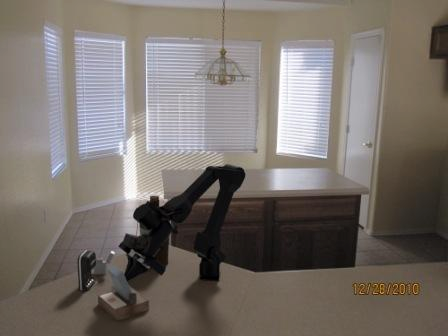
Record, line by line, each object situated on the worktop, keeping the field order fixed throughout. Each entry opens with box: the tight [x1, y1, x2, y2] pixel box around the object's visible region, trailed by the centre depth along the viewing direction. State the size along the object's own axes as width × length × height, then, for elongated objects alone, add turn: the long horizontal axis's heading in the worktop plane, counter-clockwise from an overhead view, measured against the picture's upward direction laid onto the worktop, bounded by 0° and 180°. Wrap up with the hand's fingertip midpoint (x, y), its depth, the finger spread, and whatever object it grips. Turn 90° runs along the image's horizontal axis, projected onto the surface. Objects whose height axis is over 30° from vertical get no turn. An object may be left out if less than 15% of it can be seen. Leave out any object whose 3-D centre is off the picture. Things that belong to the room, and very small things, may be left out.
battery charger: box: [76, 249, 97, 291], centre depth 144 cm, size 7×4×11 cm, turn 174°
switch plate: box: [100, 292, 126, 309], centre depth 130 cm, size 4×9×1 cm, turn 41°
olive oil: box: [138, 195, 171, 270], centre depth 161 cm, size 11×11×25 cm
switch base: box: [97, 285, 150, 322], centre depth 132 cm, size 10×12×5 cm
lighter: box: [93, 250, 116, 275], centre depth 154 cm, size 7×2×8 cm, turn 91°
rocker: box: [107, 265, 132, 301], centre depth 131 cm, size 2×6×10 cm, turn 40°
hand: (123, 281), depth 131 cm, fingers closed, pressing on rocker
